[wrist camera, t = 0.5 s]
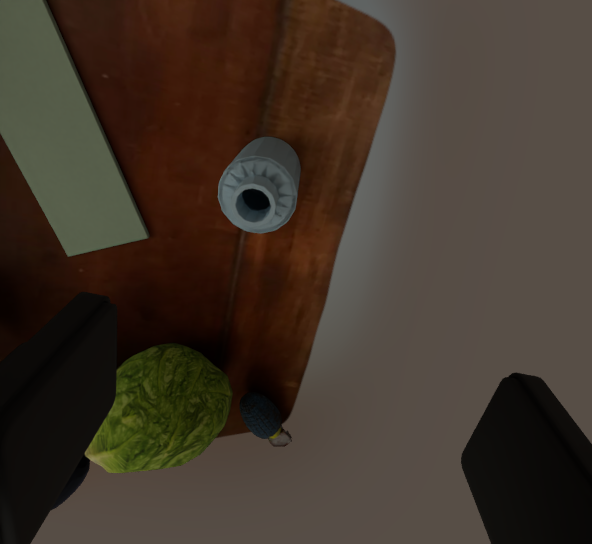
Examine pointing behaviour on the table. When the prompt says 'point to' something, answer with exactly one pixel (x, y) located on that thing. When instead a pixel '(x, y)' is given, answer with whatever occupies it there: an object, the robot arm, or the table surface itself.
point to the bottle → (261, 185)
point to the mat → (60, 135)
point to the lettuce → (162, 411)
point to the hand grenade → (263, 419)
